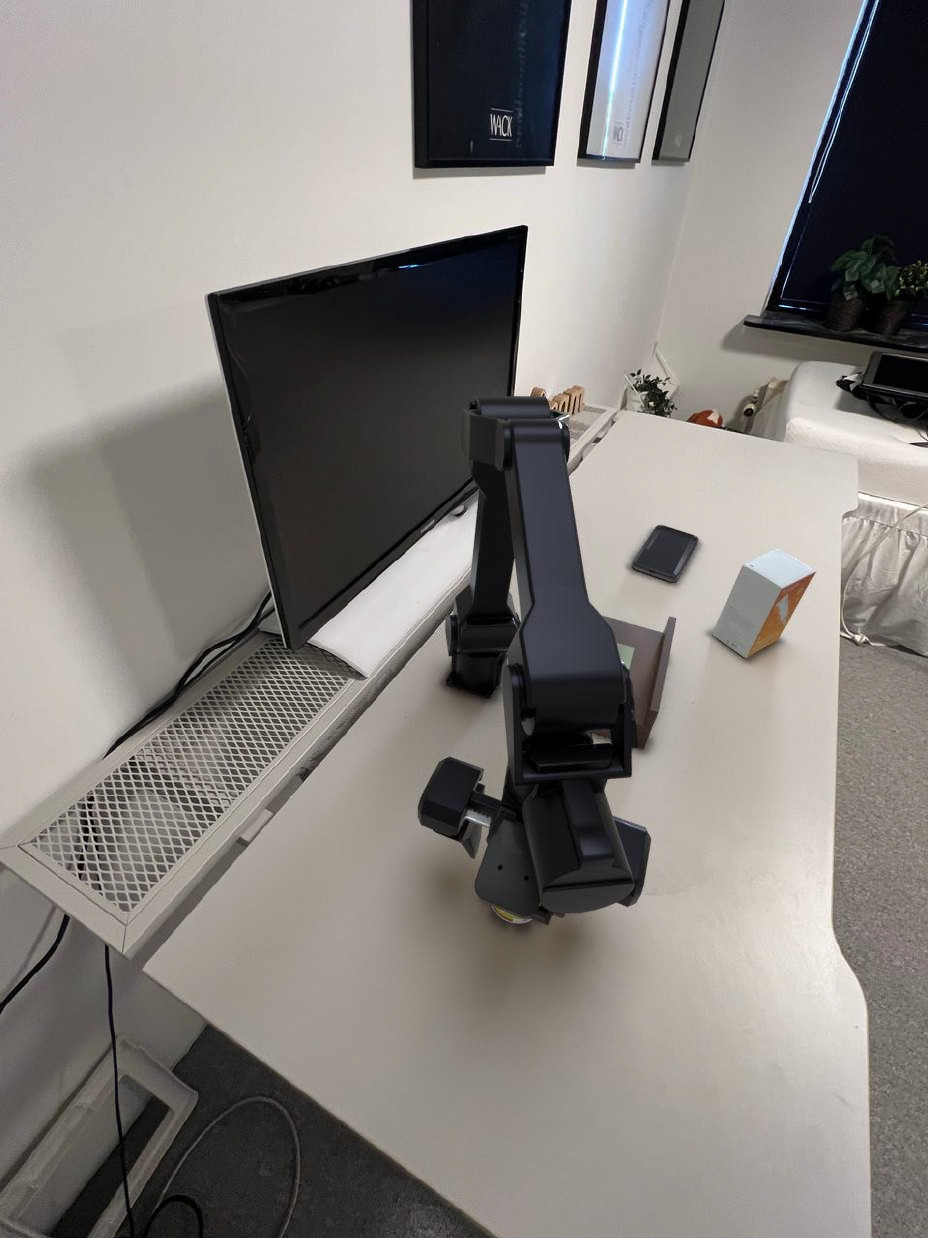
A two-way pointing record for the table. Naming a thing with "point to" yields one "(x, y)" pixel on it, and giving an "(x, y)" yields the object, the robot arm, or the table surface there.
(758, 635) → the small box
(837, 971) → the table surface
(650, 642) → the wooden coaster tray
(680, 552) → the phone
